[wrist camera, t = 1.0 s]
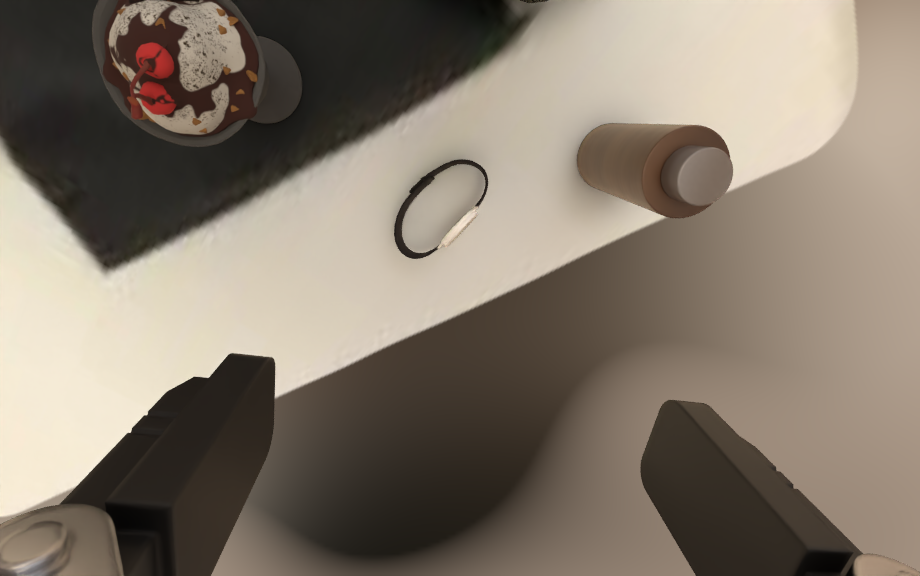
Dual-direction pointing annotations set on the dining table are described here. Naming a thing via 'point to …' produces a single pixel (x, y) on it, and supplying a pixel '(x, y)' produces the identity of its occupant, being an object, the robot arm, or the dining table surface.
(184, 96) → the sundae
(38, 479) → the dining table surface
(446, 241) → the watch
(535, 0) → the squash
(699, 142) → the pepper mill
